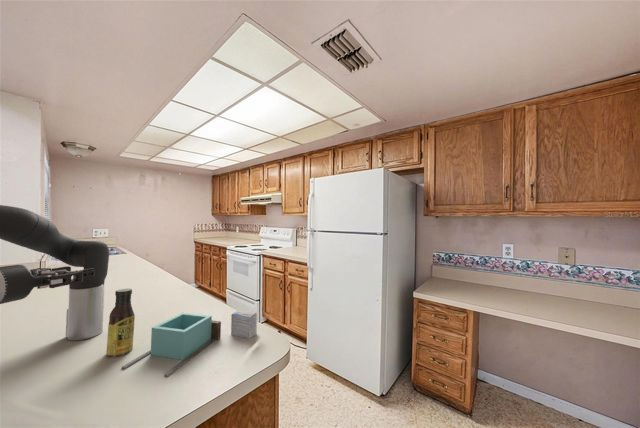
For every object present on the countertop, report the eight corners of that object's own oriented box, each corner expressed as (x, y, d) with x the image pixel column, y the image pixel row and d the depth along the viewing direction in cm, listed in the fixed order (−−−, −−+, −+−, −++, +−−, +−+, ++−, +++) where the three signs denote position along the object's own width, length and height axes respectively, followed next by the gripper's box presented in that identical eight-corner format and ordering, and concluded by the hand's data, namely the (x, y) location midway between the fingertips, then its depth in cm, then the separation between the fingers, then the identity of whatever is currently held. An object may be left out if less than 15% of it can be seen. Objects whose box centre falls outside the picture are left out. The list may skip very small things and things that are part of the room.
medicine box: (256, 336, 90) (257, 312, 90) (249, 342, 86) (250, 316, 86) (238, 333, 93) (239, 309, 93) (230, 338, 88) (231, 313, 89)
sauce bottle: (117, 363, 72) (120, 294, 73) (100, 360, 73) (103, 292, 74) (138, 351, 78) (140, 288, 79) (122, 349, 80) (124, 286, 80)
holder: (150, 354, 74) (151, 327, 75) (181, 336, 87) (182, 312, 87) (183, 359, 72) (184, 332, 72) (211, 339, 84) (211, 316, 84)
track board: (118, 373, 67) (119, 347, 68) (180, 336, 89) (180, 316, 89) (169, 382, 64) (169, 355, 64) (220, 342, 86) (220, 321, 86)
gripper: (16, 270, 48) (104, 258, 64) (-34, 266, 51) (62, 255, 67) (14, 309, 48) (103, 287, 64) (-36, 303, 51) (61, 283, 67)
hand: (82, 271), depth 66 cm, fingers open, 8 cm apart
